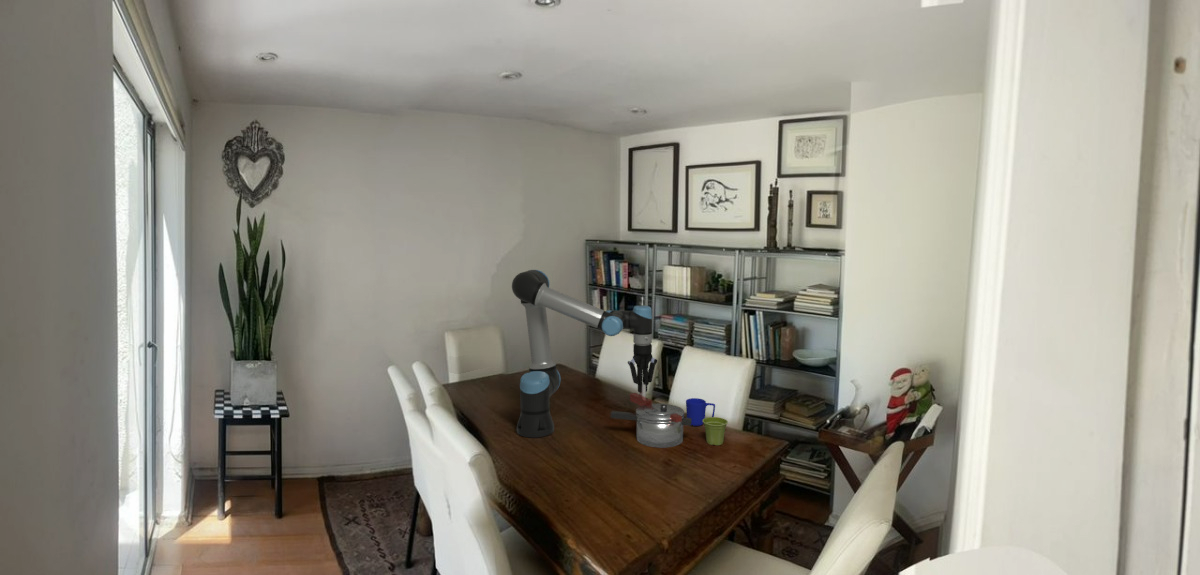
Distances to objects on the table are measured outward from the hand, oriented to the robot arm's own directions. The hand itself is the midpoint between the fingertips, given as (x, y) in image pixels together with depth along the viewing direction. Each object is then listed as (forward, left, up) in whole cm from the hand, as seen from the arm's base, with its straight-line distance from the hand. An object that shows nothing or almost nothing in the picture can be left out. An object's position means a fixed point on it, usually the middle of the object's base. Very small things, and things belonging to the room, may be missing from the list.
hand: (642, 399), depth 238 cm
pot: (+6, -12, -11) cm, 18 cm away
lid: (+7, -10, -1) cm, 12 cm away
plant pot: (+31, -10, -12) cm, 34 cm away
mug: (+23, +9, -12) cm, 27 cm away
